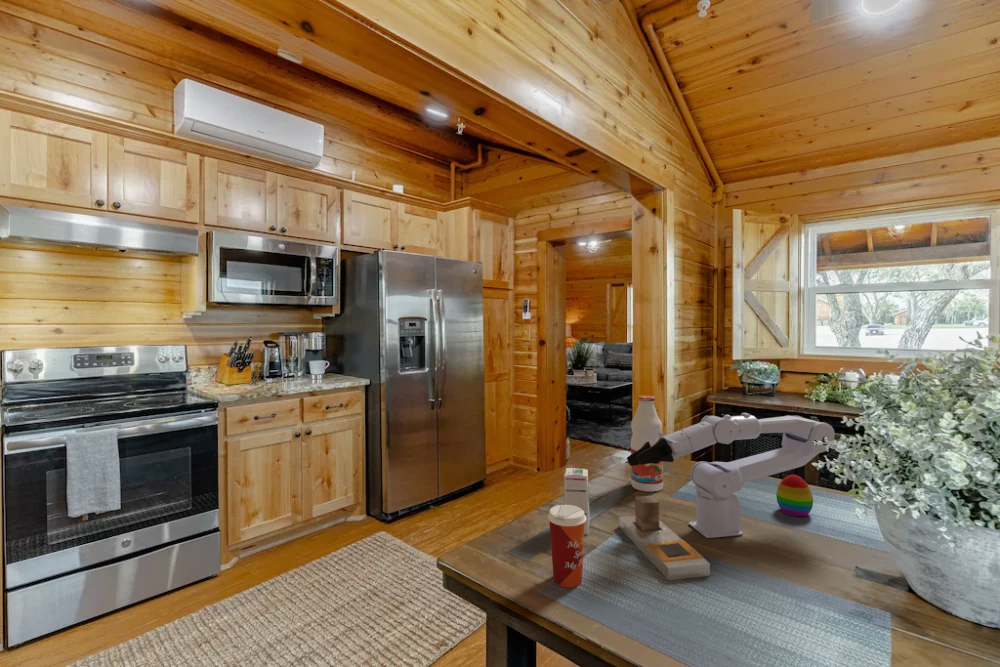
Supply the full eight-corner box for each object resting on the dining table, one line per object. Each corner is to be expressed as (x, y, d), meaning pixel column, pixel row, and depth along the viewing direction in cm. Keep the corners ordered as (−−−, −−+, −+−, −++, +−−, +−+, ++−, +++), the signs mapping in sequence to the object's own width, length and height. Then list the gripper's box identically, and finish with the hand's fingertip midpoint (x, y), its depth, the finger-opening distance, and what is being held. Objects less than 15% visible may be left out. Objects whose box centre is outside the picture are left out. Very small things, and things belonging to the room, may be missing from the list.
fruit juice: (666, 484, 144) (665, 395, 143) (659, 494, 136) (658, 400, 135) (635, 479, 149) (634, 393, 148) (627, 489, 141) (626, 397, 140)
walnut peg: (651, 532, 113) (650, 495, 112) (659, 539, 109) (658, 501, 108) (635, 533, 112) (635, 496, 112) (643, 541, 108) (642, 503, 108)
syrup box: (589, 535, 112) (588, 475, 111) (564, 533, 113) (563, 474, 112) (589, 524, 117) (588, 468, 117) (566, 523, 118) (565, 467, 118)
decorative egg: (799, 505, 126) (799, 469, 126) (820, 518, 118) (820, 480, 118) (769, 506, 126) (769, 470, 126) (789, 519, 118) (789, 481, 118)
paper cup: (578, 595, 87) (577, 522, 87) (541, 583, 91) (540, 514, 91) (593, 575, 94) (592, 507, 94) (558, 565, 98) (557, 500, 98)
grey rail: (652, 523, 117) (652, 513, 117) (710, 575, 93) (709, 562, 93) (619, 526, 116) (618, 516, 115) (668, 580, 92) (668, 567, 92)
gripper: (665, 429, 119) (618, 447, 117) (690, 422, 105) (636, 442, 103) (677, 455, 117) (629, 474, 115) (704, 452, 103) (649, 473, 101)
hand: (633, 461), depth 109 cm, fingers open, 7 cm apart
